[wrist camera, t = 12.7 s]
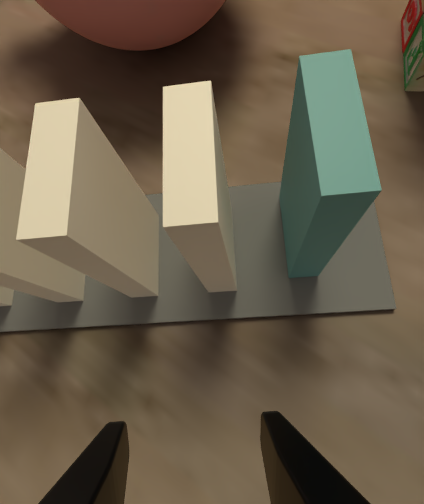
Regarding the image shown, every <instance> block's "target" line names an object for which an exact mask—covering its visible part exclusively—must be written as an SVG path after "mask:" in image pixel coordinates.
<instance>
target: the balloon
mask: <svg viewBox="0 0 424 504" xmlns="http://www.w3.org/2000/svg"><path fill="white" fill-rule="evenodd" d="M35 1H36V2H37V3H38V4H39V5H40V6H41V7H43V8H44V9H45V10H46V11H47V12H48V13H49V14H50V15H52V16H53V17H54V18H55V19H57V20H58V21H59V22H60V23H62V24H63V25H65V26H66V27H68V28H69V29H71V30H72V31H74V32H76V33H77V34H79V35H81V36H83V37H85V38H87V39H89V40H91V41H94V42H96V43H99V44H102V45H105V46H108V47H112V48H116V49H122V50H132V51H143V50H153V49H158V48H162V47H166V46H169V45H172V44H175V43H177V42H179V41H181V40H183V39H185V38H187V37H188V36H190V35H192V34H193V33H194V32H196V31H197V30H199V29H200V28H201V27H202V26H203V25H205V24H206V23H207V22H208V21H209V20H210V19H211V18H212V17H213V16H214V15H215V13H216V12H217V11H218V10H219V9H220V7H221V6H222V5H223V3H224V2H225V1H226V0H35Z"/></svg>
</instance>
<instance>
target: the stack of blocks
mask: <svg viewBox="0 0 424 504" xmlns="http://www.w3.org/2000/svg"><path fill="white" fill-rule="evenodd" d="M401 30H402V52H403V56H404V83H405V91H424V0H409V3H408V5H407V7H406V10H405V12H404V14H403V17H402V20H401Z"/></svg>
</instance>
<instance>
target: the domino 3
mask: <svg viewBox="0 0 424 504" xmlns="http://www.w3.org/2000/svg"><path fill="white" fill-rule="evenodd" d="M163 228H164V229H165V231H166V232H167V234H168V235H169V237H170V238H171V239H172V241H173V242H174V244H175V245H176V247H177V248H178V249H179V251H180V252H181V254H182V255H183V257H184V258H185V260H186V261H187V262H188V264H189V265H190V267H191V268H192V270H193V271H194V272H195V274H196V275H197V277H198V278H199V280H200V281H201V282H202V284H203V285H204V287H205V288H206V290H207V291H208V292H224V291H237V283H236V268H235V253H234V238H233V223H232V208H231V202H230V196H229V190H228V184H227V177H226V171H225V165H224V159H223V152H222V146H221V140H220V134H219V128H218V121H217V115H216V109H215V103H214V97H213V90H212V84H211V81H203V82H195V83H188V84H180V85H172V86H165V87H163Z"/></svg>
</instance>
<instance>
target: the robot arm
mask: <svg viewBox="0 0 424 504" xmlns="http://www.w3.org/2000/svg"><path fill="white" fill-rule="evenodd" d="M260 441H261V450H262V456H263V462H264V467H265V473H266V478H267V484H268V490H269V495H270V501H271V504H370V503H369V502H368V501H367V500H366V499H365V498H364V497H363V496H362V495H361V494H360V493H359V492H358V491H357V490H356V489H355V488H354V487H353V486H352V485H351V484H350V483H349V482H348V481H347V480H346V479H345V478H344V477H343V476H342V475H341V474H340V473H339V472H338V471H337V470H336V469H335V468H334V467H333V466H332V465H331V464H330V463H329V462H328V461H327V460H326V459H325V458H324V457H323V456H322V455H321V454H320V453H319V452H318V451H317V450H316V449H315V448H314V447H313V446H312V445H311V444H310V443H309V442H308V441H307V439H306V438H305V437H304V436H303V435H302V434H301V433H300V432H299V431H298V430H297V429H296V428H295V427H294V426H293V425H292V424H291V423H290V422H289V421H288V420H287V419H286V418H285V417H284V416H283V415H282V414H281V413H279V412H278V411H269V412H263V413H262V415H261V435H260ZM128 463H129V442H128V433H127V425H126V423H125V422H124V421H119V422H109V423H108V424H106V425H105V427H104V428H103V429H102V430H101V431H100V432H99V434H98V435H97V436H96V437H95V438H94V439H93V441H92V442H91V443H90V444H89V445H88V446H87V448H86V449H85V450H84V451H83V452H82V453H81V455H80V456H79V457H78V458H77V459H76V460H75V462H74V463H73V464H72V465H71V466H70V467H69V469H68V470H67V471H66V472H65V473H64V474H63V476H62V477H61V478H60V479H59V480H58V481H57V483H56V484H55V485H54V486H53V487H52V488H51V490H50V491H49V492H48V493H47V494H46V495H45V497H44V498H43V499H42V500H41V501H40V502H39V504H124V498H125V489H126V480H127V471H128Z"/></svg>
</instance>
